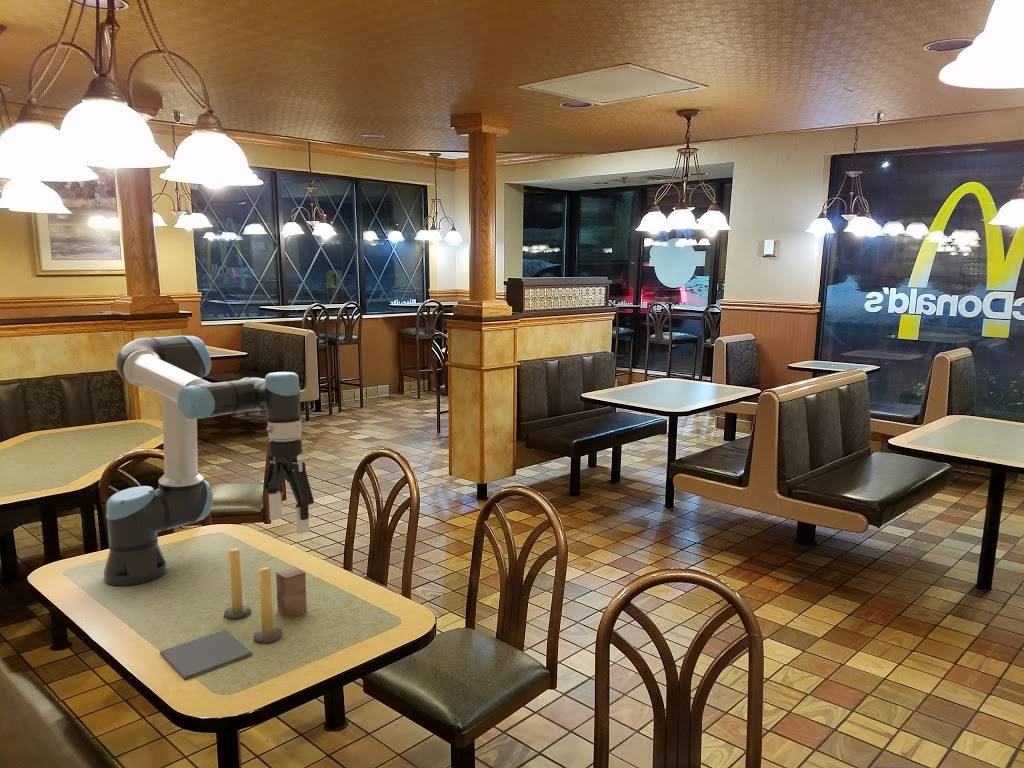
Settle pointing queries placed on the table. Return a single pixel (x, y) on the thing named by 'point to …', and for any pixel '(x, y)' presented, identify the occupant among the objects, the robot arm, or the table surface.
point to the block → (291, 592)
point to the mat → (205, 654)
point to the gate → (241, 611)
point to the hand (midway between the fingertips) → (289, 525)
